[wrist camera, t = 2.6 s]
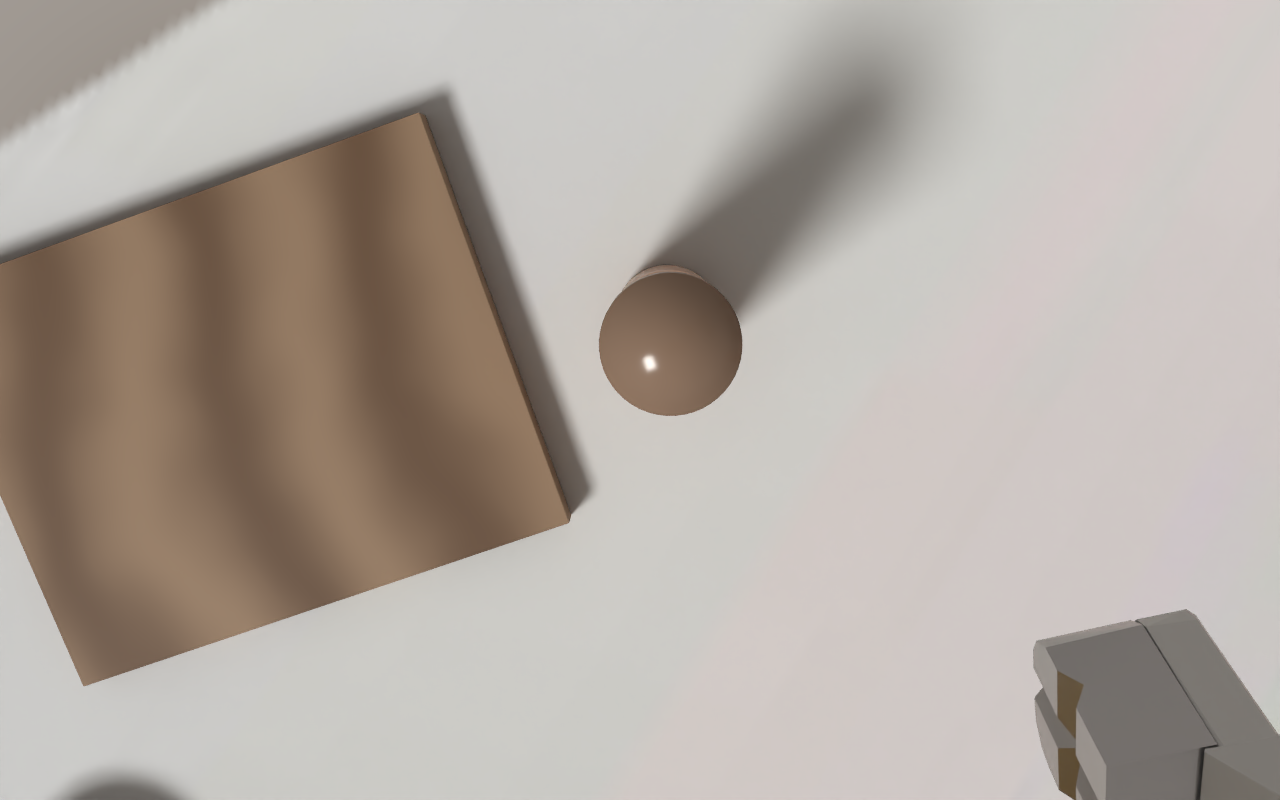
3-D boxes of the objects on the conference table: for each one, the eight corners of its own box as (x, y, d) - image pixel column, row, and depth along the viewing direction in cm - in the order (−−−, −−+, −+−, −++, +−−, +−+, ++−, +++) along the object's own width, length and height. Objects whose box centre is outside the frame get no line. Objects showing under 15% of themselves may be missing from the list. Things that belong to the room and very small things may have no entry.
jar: (702, 246, 44) (715, 253, 34) (737, 352, 44) (761, 388, 35) (596, 283, 44) (579, 300, 34) (632, 388, 45) (626, 434, 35)
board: (424, 115, 43) (418, 112, 42) (571, 514, 45) (568, 522, 44) (-67, 293, 44) (-87, 295, 43) (98, 674, 47) (83, 686, 45)
